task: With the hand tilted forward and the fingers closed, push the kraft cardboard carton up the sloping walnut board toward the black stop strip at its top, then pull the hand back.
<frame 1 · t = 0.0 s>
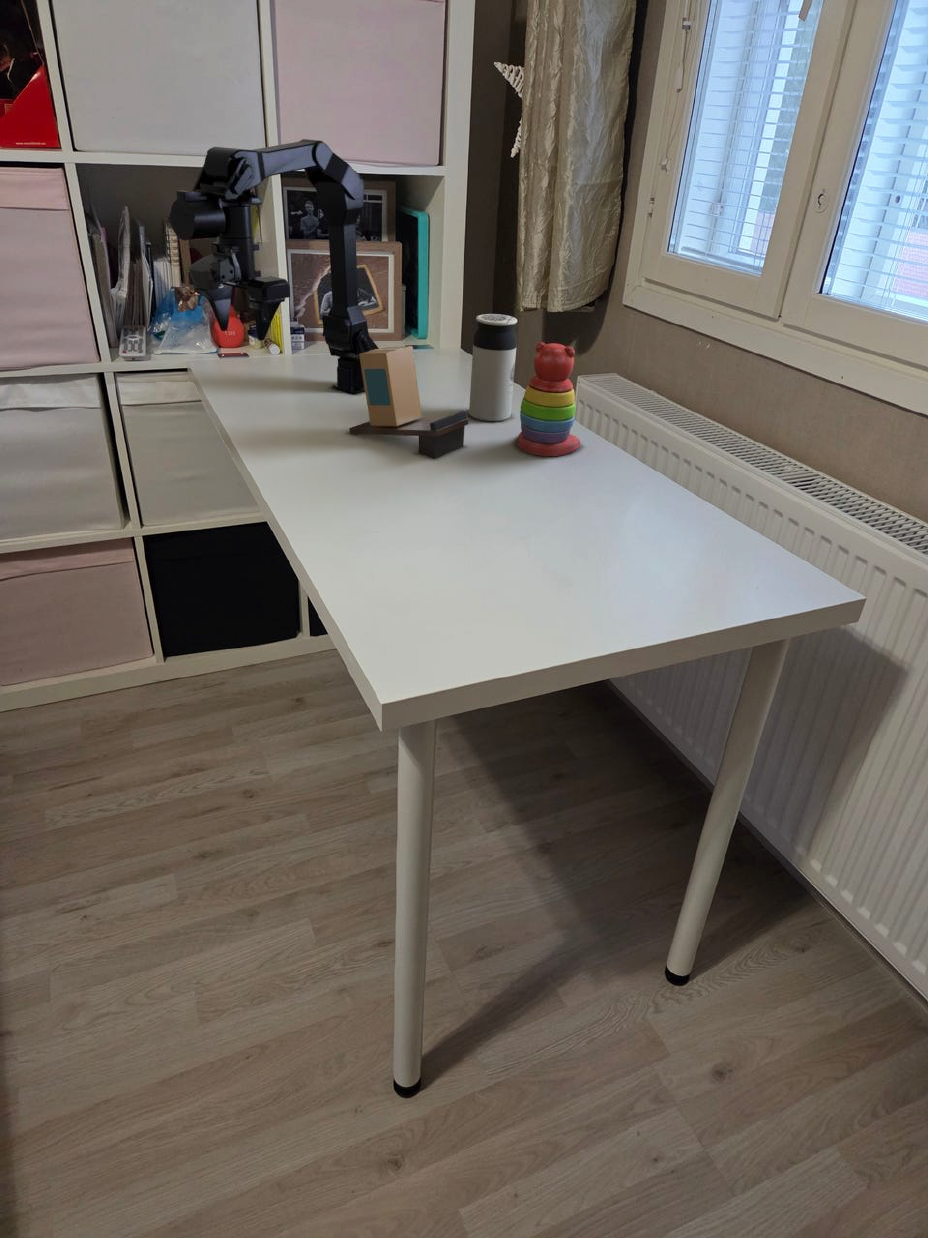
hand: (242, 335, 145), 15 cm above the table, tool pointing down, fingers open, 9 cm apart
travel mug: (489, 416, 162), on the table
stacking bear: (544, 448, 149), on the table
carton: (391, 385, 145), point 9 cm above the table, slide at 0.0 cm
ramp: (407, 440, 148), on the table
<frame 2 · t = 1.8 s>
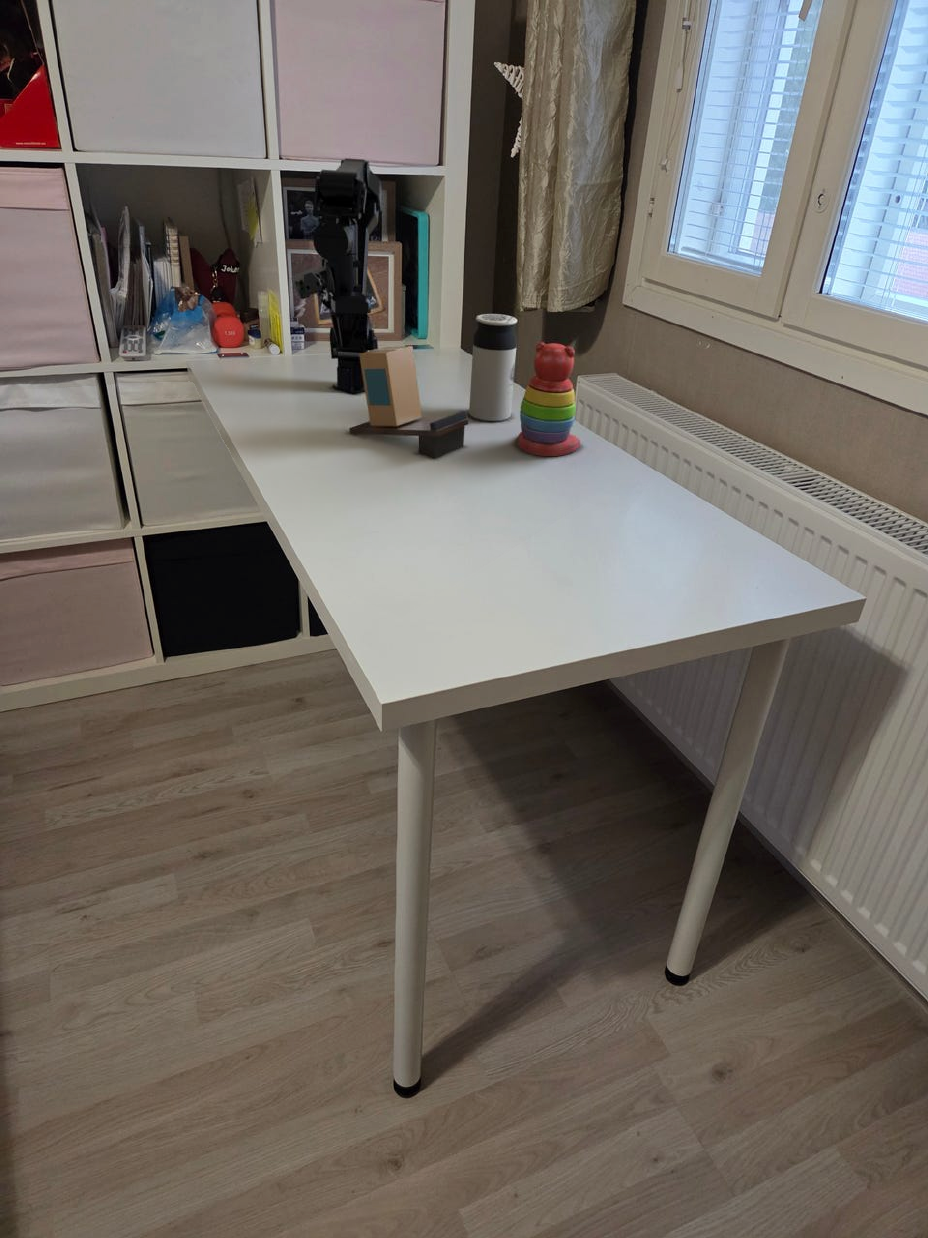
hand: (342, 344, 154), 12 cm above the table, tool pointing down, fingers open, 4 cm apart
nothing on the table moved.
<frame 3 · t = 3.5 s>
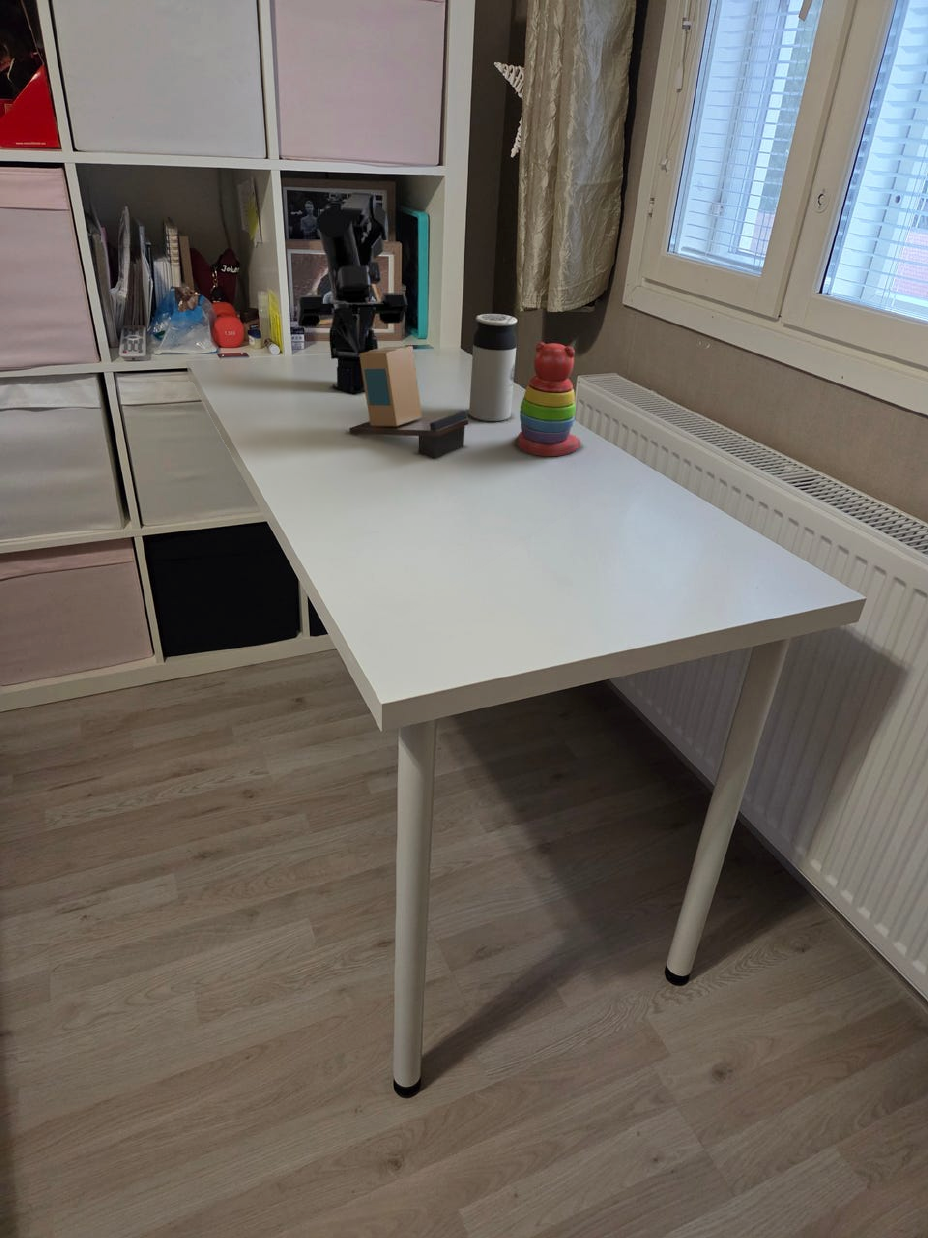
hand: (360, 353, 146), 13 cm above the table, tool tilted 45°, fingers closed
nothing on the table moved.
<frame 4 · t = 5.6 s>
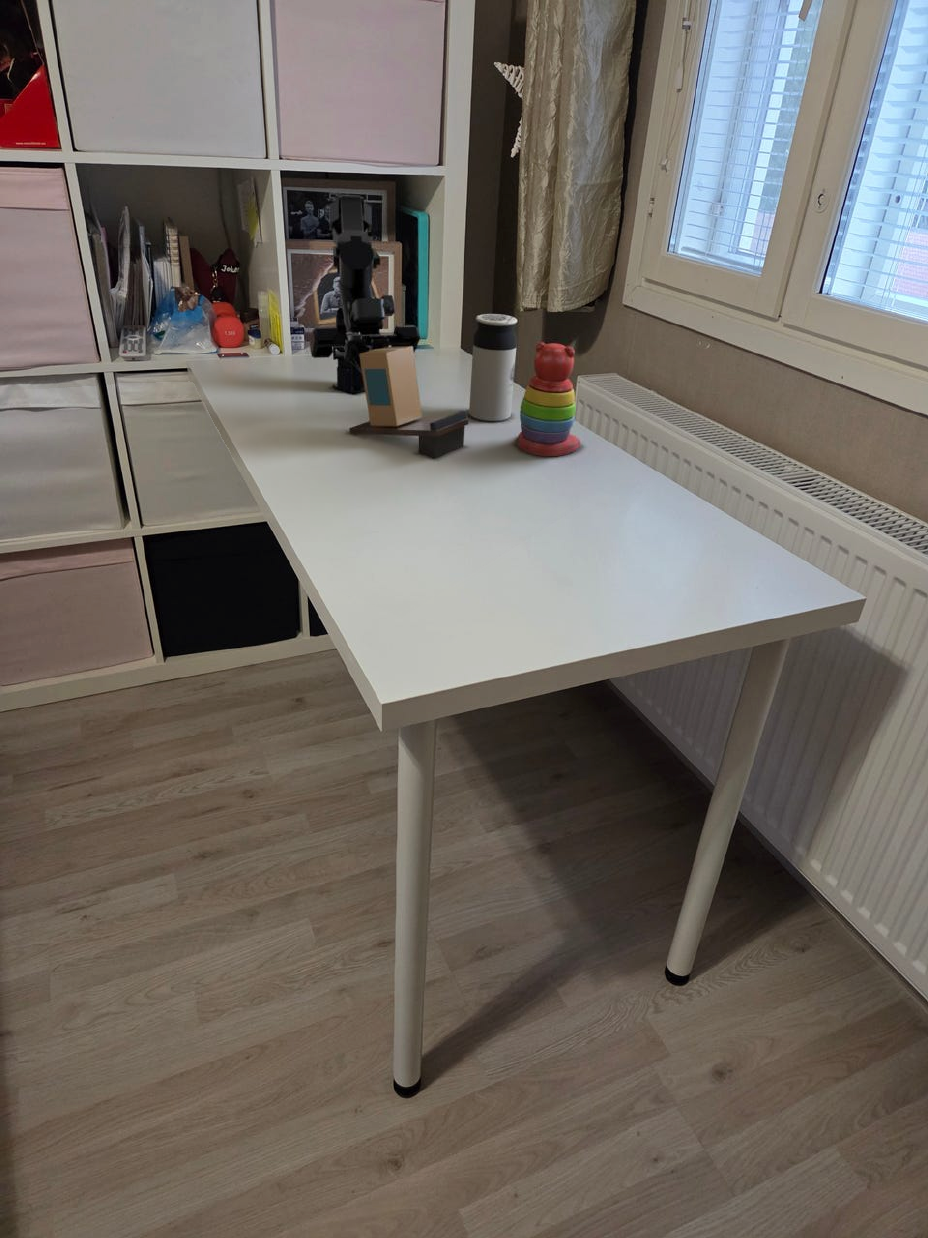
hand: (373, 384, 147), 8 cm above the table, tool tilted 45°, fingers closed
carton: (391, 385, 145), point 9 cm above the table, slide at 0.0 cm, touching gripper
everything else where it was.
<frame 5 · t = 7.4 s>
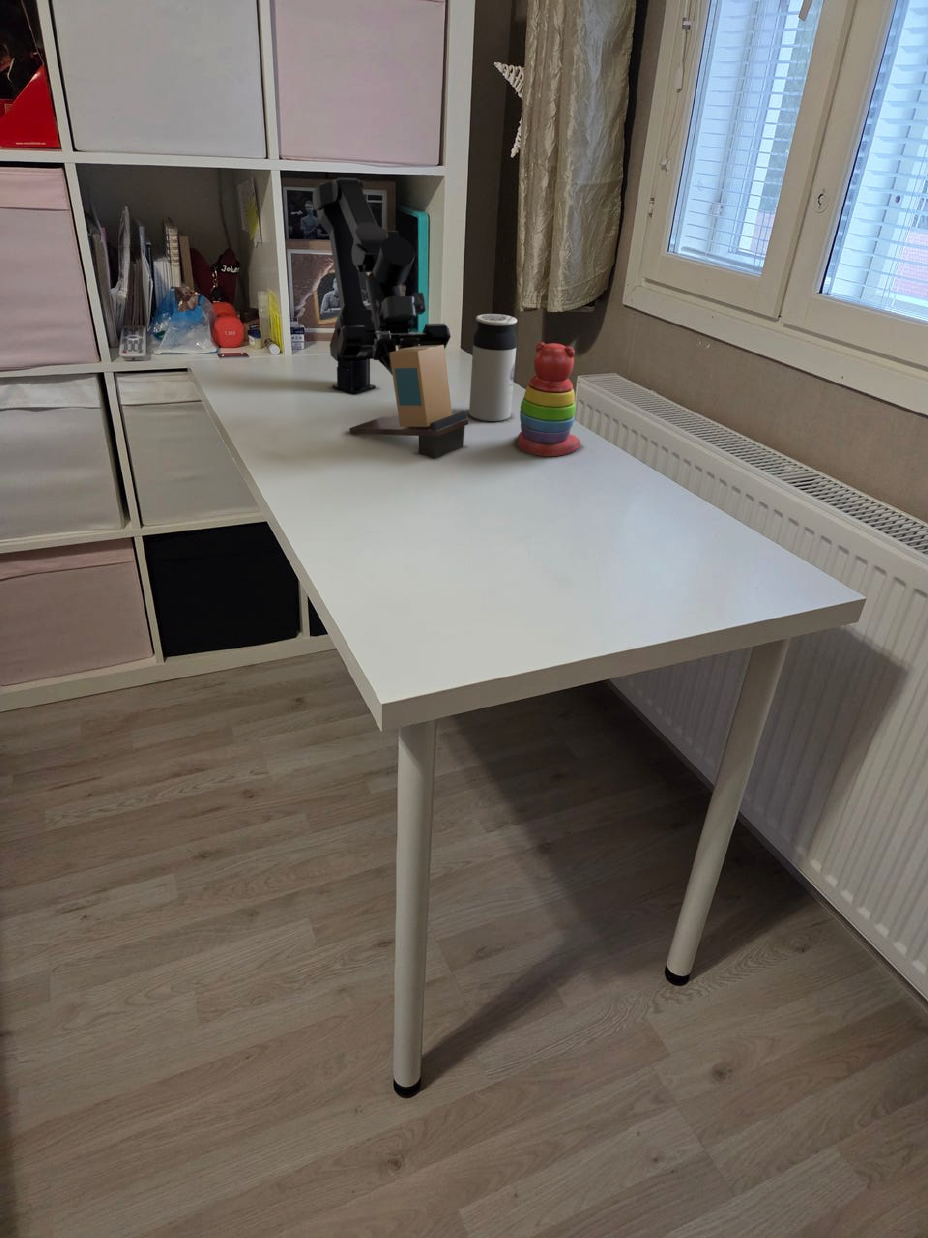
hand: (403, 384, 143), 9 cm above the table, tool tilted 45°, fingers closed
carton: (421, 385, 141), point 10 cm above the table, slide at 6.7 cm, touching gripper
everything else where it was.
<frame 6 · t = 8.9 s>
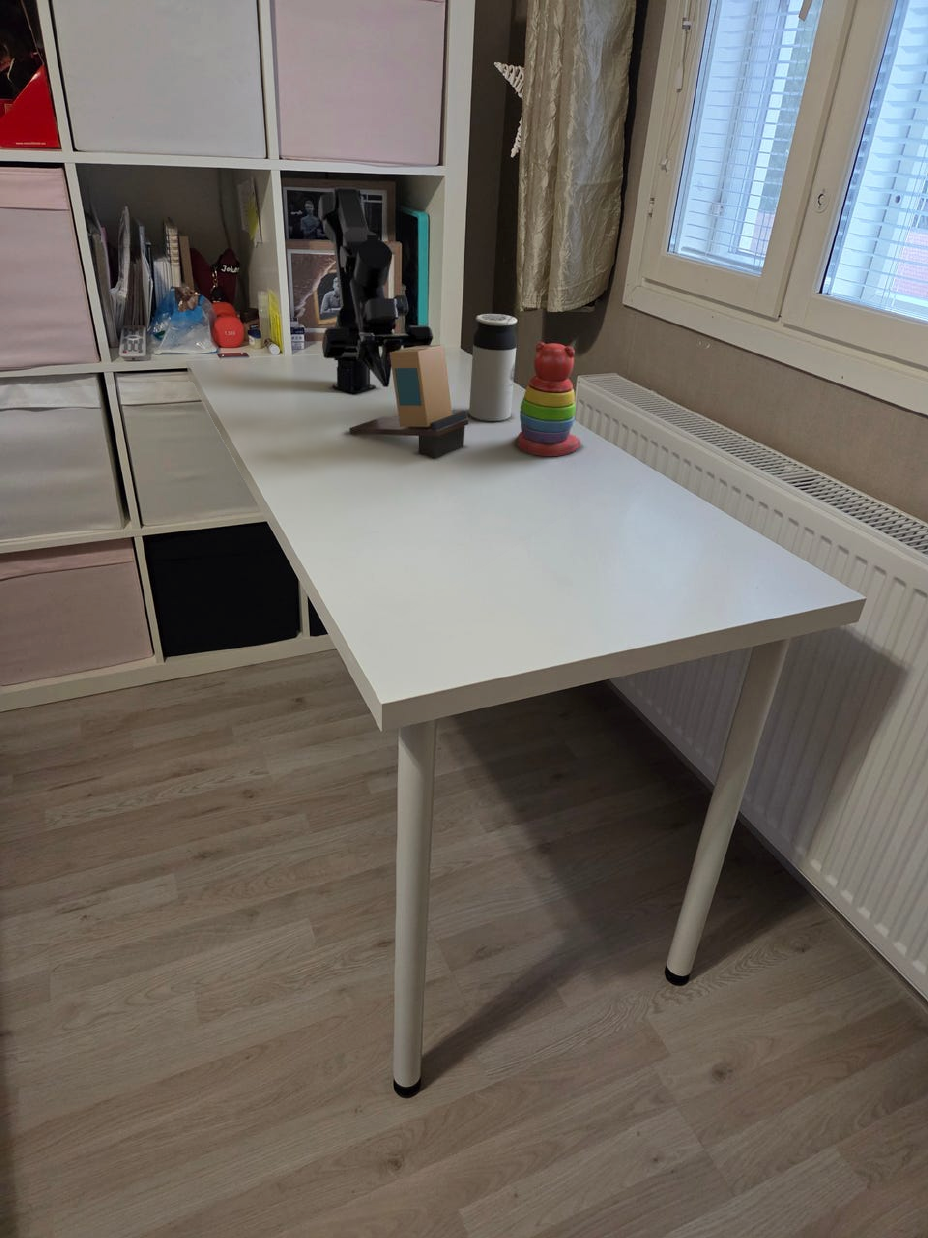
hand: (386, 385, 146), 9 cm above the table, tool tilted 45°, fingers closed
carton: (421, 385, 141), point 10 cm above the table, slide at 6.7 cm
everything else where it was.
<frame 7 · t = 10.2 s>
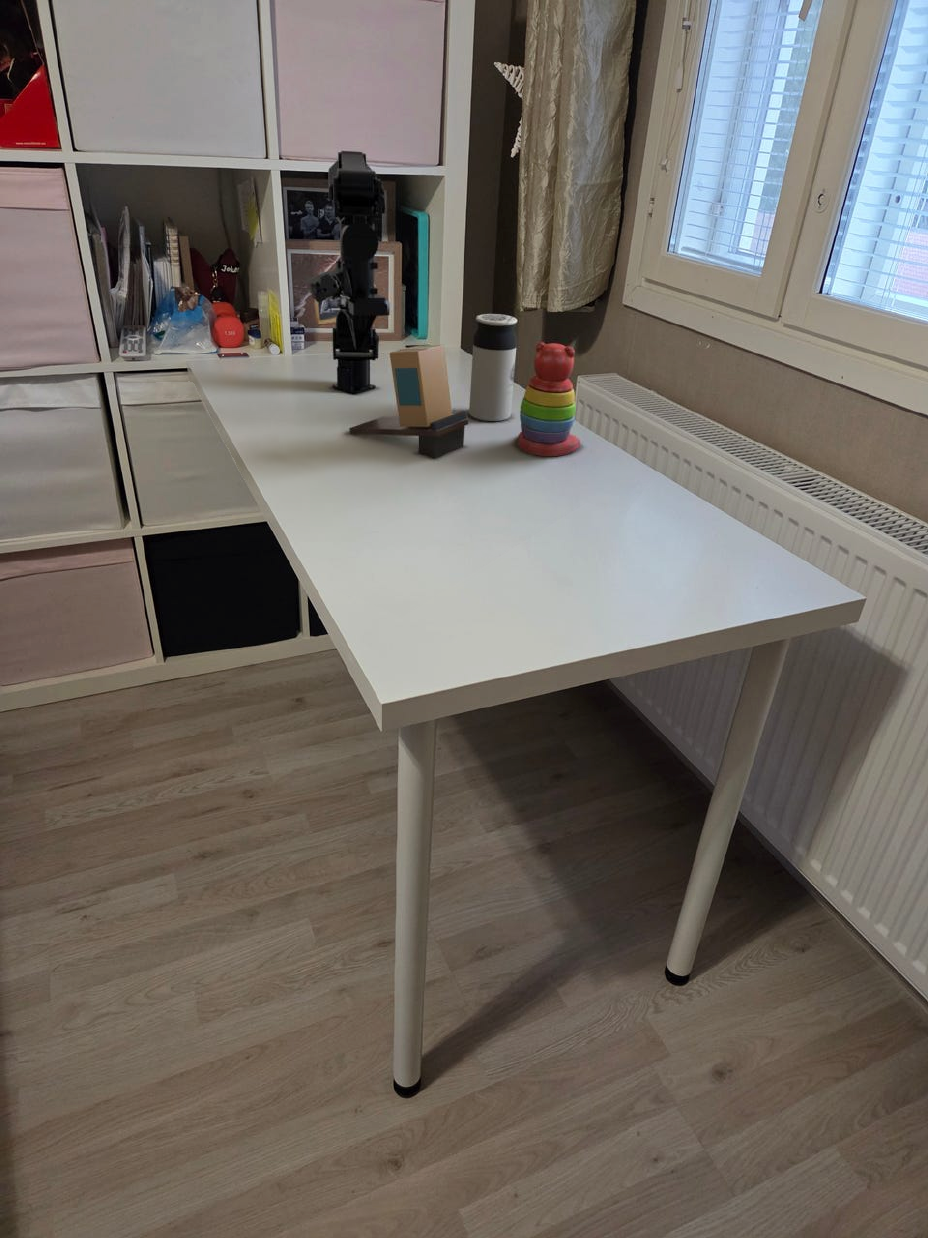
hand: (358, 348, 151), 12 cm above the table, tool pointing down, fingers closed
nothing on the table moved.
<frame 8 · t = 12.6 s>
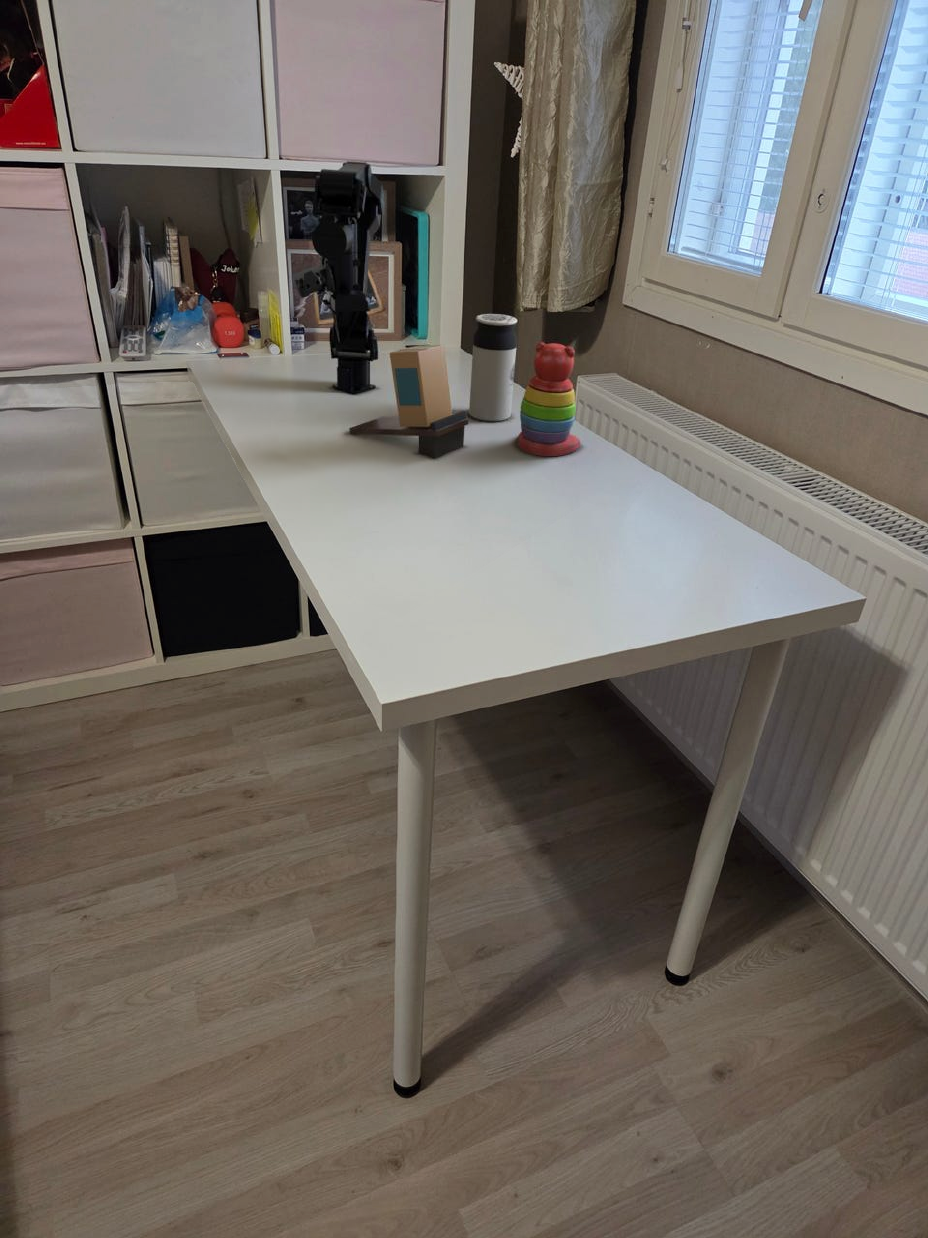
hand: (342, 342, 156), 12 cm above the table, tool pointing down, fingers closed
nothing on the table moved.
at the end: carton slide at 6.7 cm; carton moved 6.7 cm from its start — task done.
